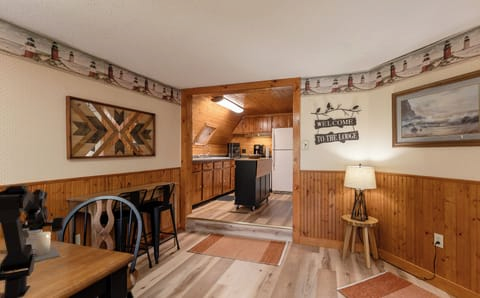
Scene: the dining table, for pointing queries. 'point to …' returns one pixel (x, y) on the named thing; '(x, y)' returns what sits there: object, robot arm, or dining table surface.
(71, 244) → the dining table surface
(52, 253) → the placemat
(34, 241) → the syrup box
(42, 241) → the candle jar
